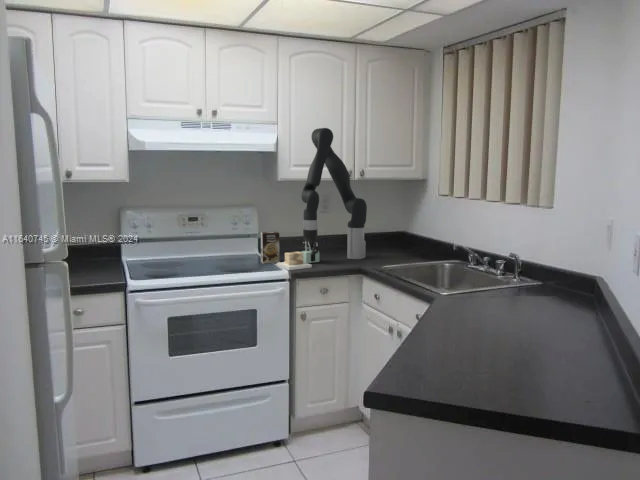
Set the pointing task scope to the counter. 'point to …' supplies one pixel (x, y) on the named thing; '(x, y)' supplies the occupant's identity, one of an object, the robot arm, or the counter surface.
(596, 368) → the counter surface
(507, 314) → the counter surface
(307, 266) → the baseplate
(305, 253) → the sage brick
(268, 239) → the cookie box
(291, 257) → the maple brick
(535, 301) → the counter surface
